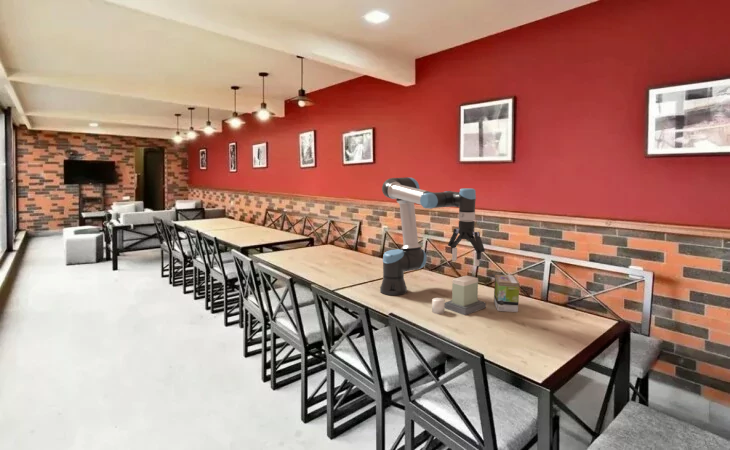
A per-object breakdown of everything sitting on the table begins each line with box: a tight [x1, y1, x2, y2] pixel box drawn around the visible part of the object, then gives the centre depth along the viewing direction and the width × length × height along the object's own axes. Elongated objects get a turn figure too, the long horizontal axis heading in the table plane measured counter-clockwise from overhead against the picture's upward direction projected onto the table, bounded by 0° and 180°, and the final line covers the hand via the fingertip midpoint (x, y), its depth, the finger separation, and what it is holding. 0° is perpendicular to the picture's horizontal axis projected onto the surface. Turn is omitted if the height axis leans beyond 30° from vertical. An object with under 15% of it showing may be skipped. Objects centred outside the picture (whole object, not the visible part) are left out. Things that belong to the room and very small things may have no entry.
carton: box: [451, 275, 479, 306], centre depth 197 cm, size 7×11×12 cm, turn 128°
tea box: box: [493, 274, 520, 313], centre depth 198 cm, size 15×10×15 cm, turn 168°
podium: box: [445, 299, 486, 316], centre depth 198 cm, size 13×16×3 cm
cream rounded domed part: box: [431, 297, 446, 315], centre depth 193 cm, size 6×6×6 cm
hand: (465, 263), depth 195 cm, fingers open, 13 cm apart
